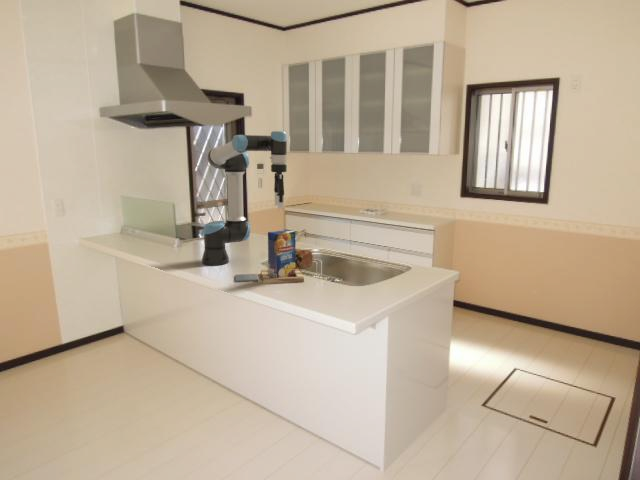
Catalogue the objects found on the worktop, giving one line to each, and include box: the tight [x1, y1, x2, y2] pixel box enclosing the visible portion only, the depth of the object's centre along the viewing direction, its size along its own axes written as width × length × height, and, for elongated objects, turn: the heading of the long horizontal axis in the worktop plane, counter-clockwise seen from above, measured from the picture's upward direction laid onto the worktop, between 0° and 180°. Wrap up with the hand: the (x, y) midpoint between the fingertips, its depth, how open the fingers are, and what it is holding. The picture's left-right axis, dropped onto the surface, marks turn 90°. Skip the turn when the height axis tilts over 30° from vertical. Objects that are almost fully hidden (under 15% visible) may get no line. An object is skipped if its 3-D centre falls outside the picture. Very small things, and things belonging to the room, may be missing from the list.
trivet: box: [234, 273, 259, 283], centre depth 232 cm, size 11×11×1 cm
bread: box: [295, 248, 314, 270], centre depth 257 cm, size 19×11×10 cm, turn 53°
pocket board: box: [260, 269, 305, 285], centre depth 234 cm, size 18×20×2 cm
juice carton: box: [267, 229, 297, 278], centre depth 232 cm, size 12×8×24 cm, turn 134°
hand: (279, 207), depth 226 cm, fingers open, 13 cm apart
